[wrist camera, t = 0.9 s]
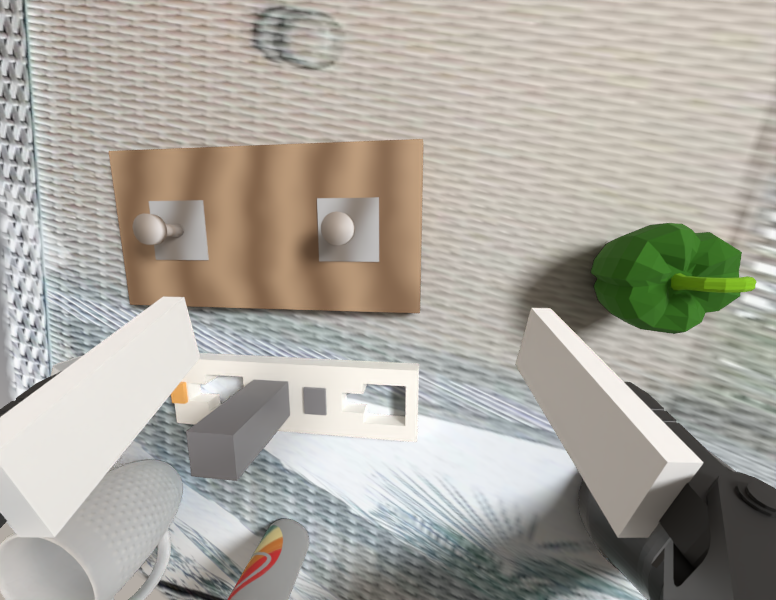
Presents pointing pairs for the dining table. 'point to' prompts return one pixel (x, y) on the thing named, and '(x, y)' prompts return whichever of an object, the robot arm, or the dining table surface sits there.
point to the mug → (99, 540)
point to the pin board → (274, 225)
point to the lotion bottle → (274, 563)
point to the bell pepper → (668, 277)
